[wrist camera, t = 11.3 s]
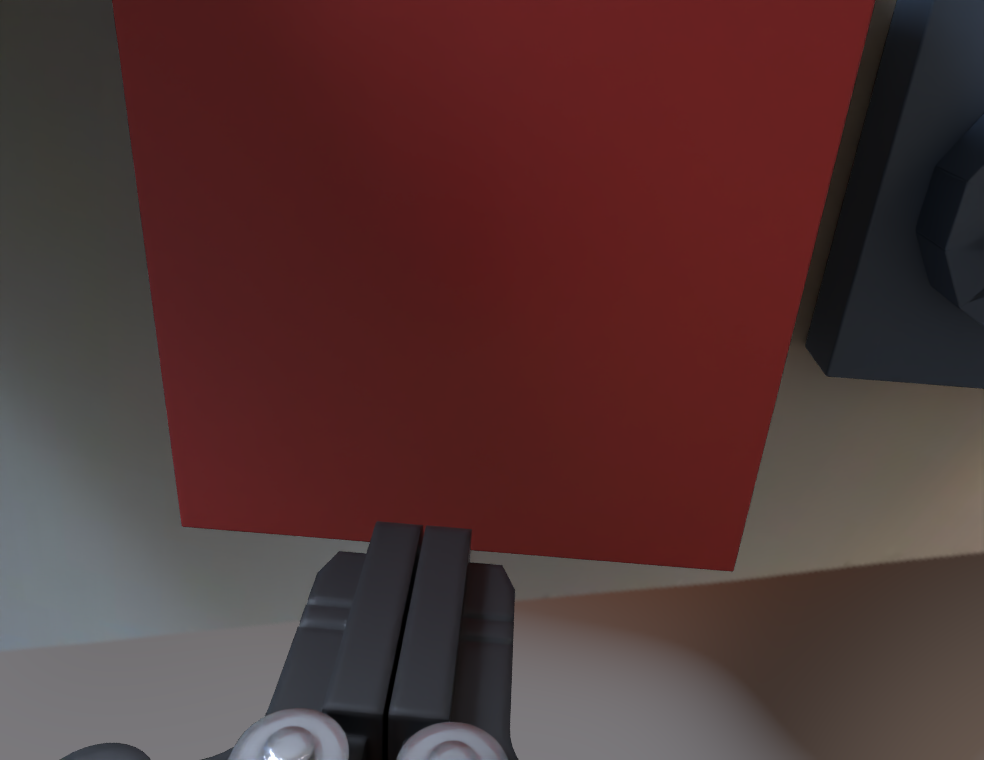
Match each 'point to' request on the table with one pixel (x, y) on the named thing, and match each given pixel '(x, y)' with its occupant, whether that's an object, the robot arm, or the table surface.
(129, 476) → the table surface
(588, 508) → the lid
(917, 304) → the control block
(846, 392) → the table surface
